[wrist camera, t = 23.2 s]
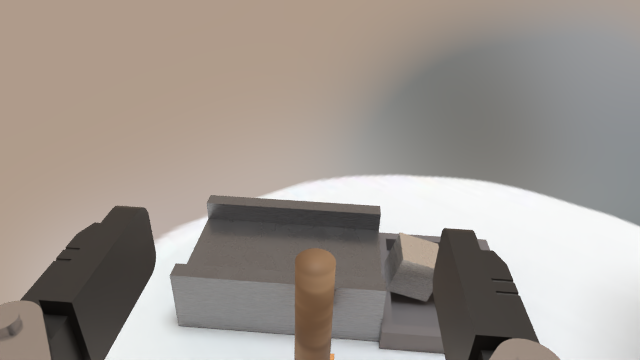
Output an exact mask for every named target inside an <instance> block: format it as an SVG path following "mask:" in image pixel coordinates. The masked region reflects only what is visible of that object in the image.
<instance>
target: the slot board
mask: <svg viewBox="0 0 640 360" xmlns="http://www.w3.org/2000/svg"><path fill="white" fill-rule="evenodd" d="M207 209H208V218H209V219H208V221H207V223H206V225H205V227H204V229H203V231H202V233H201V236H200V238H199V240H198V242H197V244H196V246H195V248H194V250H193V252H192V254H191V256H190V259H189V261H188V263H187V264H175V266H174V268H173V270H172V272H171V274H170V279H171V285H172V290H173V296H174V301H175V307H176V313H177V318H178V324H179V326H189V327H202V328H215V329H228V330H240V331H253V332H266V333H279V334H292V335H295V259H296V256H297V255H298V254H299V253H300V252H302V251H304V250H306V249H311V248H319V249H323V250H326V251H328V252H330V253H331V254H332V255H333V256H334V257H335V260H336V269H335V285H334V301H333V317H332V333H331V338H343V339H356V340H369V341H379V339H380V332H381V325H382V318H383V311H384V304H385V297H386V281H385V279H384V278H382V273H381V257H380V242H379V224H380V216H381V213H380V206H369V205H354V204H338V203H323V202H307V201H292V200H276V199H261V198H246V197H245V198H244V197H230V196H215V195H211V196H210V198H209V200H208V202H207Z"/></svg>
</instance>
